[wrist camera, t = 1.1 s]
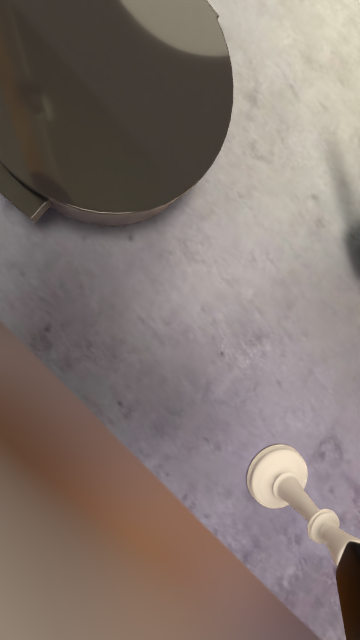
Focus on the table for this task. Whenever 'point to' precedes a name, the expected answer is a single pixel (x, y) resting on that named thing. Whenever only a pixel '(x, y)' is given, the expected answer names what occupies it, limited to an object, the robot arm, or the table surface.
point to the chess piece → (294, 495)
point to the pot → (109, 105)
